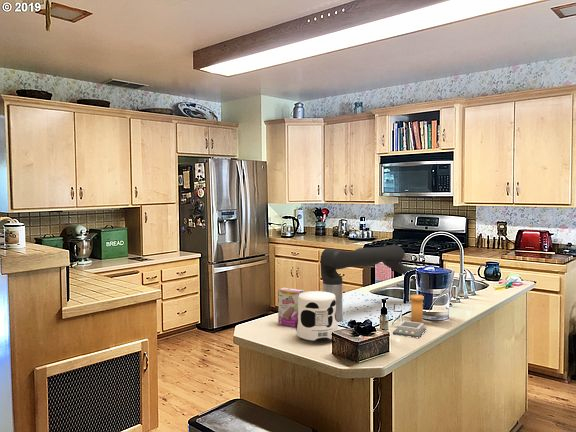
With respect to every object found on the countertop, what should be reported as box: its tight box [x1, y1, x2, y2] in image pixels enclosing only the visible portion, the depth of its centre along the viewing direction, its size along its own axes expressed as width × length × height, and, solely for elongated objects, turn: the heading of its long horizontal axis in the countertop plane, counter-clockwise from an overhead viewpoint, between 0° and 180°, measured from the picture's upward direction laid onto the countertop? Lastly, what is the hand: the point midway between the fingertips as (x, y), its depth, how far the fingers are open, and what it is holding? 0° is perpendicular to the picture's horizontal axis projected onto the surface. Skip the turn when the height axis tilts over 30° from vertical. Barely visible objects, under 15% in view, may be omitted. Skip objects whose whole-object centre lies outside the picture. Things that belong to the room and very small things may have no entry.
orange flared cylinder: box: [409, 293, 424, 323], centre depth 210 cm, size 6×6×14 cm
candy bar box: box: [277, 287, 305, 329], centre depth 211 cm, size 11×5×16 cm, turn 59°
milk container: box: [295, 290, 339, 343], centre depth 193 cm, size 17×17×18 cm
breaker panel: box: [392, 320, 427, 339], centre depth 201 cm, size 11×12×3 cm
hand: (423, 303), depth 219 cm, fingers open, 8 cm apart
